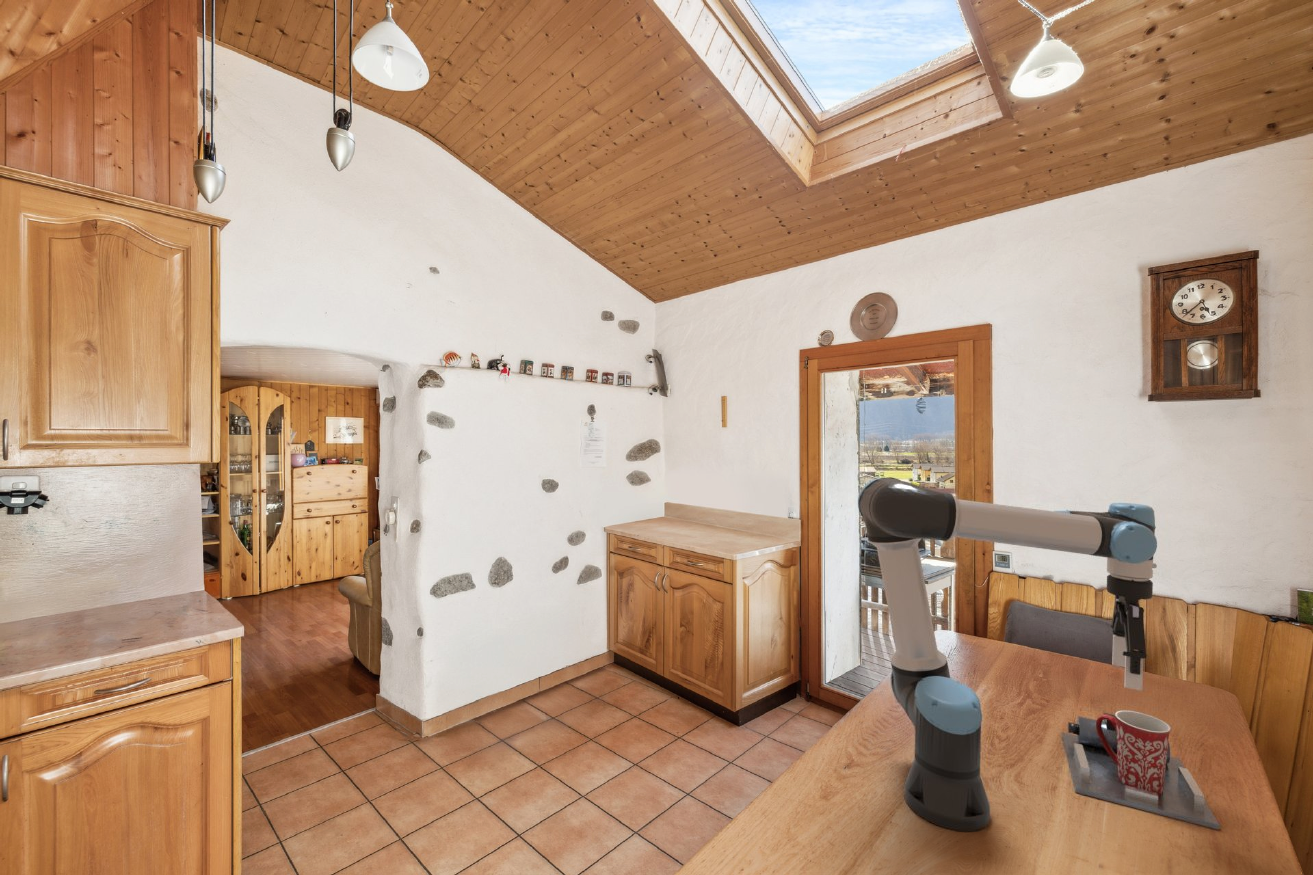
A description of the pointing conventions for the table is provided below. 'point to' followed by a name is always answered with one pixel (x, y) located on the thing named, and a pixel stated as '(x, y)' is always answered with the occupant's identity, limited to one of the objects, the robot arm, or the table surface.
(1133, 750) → the mug
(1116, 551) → the robot arm
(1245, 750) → the table surface
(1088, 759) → the plate
